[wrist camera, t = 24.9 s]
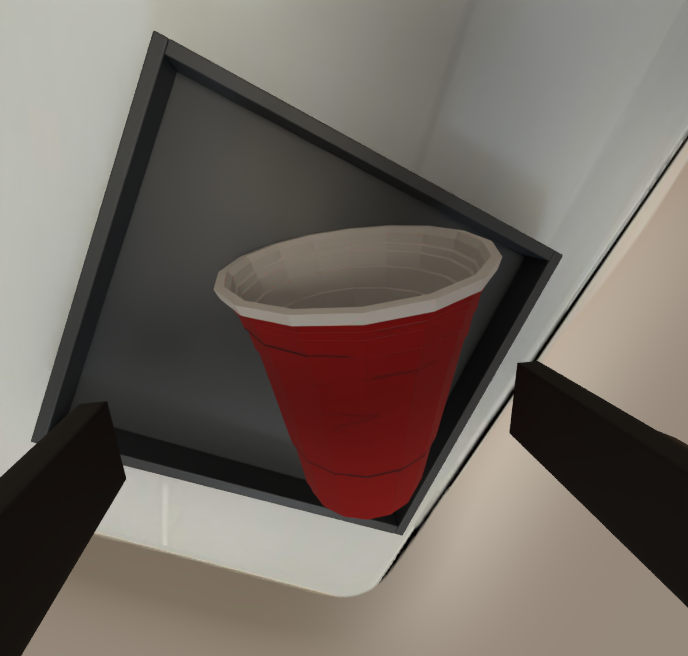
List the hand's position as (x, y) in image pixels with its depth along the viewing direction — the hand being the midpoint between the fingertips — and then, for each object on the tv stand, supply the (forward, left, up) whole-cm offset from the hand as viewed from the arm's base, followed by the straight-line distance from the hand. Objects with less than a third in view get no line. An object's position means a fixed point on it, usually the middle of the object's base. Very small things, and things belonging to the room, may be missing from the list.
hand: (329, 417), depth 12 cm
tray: (0, 0, -10) cm, 10 cm away
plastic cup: (-5, +5, -6) cm, 9 cm away
